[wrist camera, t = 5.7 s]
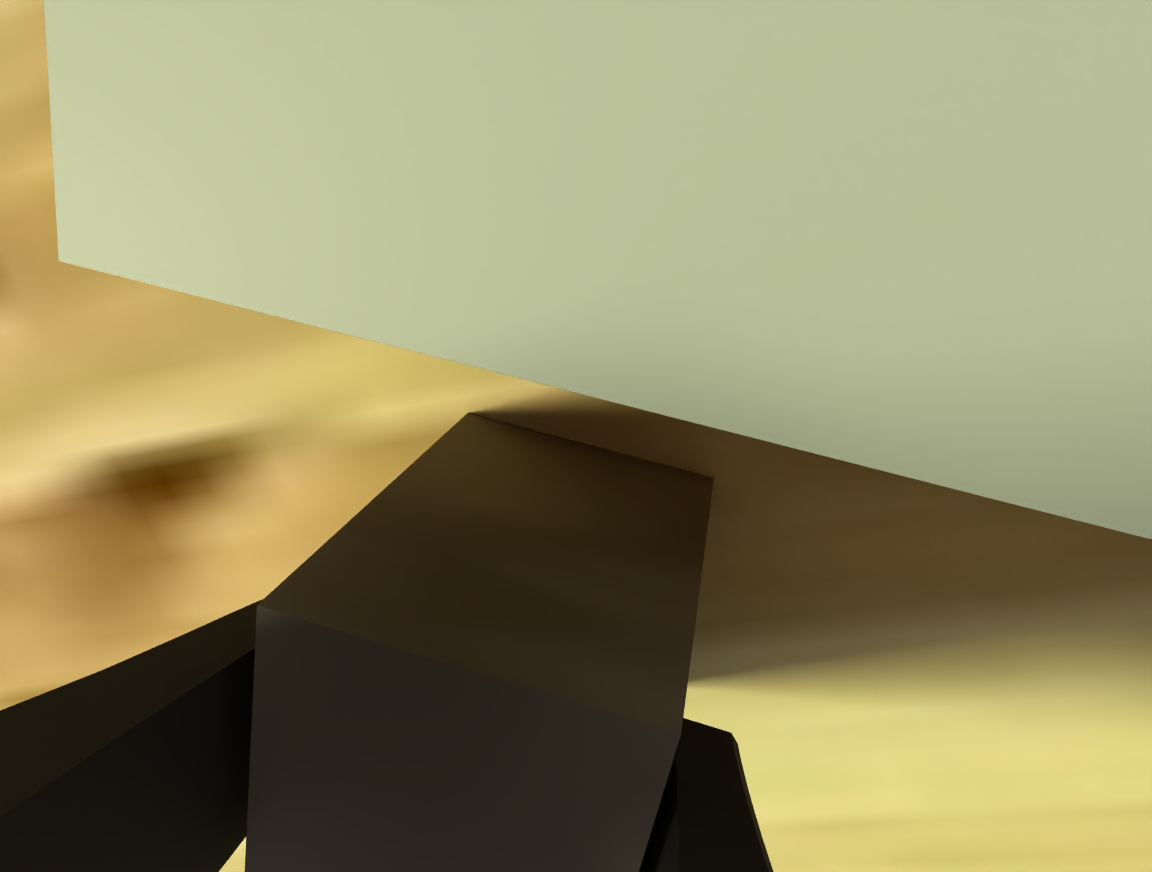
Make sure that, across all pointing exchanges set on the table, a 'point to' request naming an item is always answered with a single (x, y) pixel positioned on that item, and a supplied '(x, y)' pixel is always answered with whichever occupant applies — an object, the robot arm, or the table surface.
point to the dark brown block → (481, 665)
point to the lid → (666, 207)
